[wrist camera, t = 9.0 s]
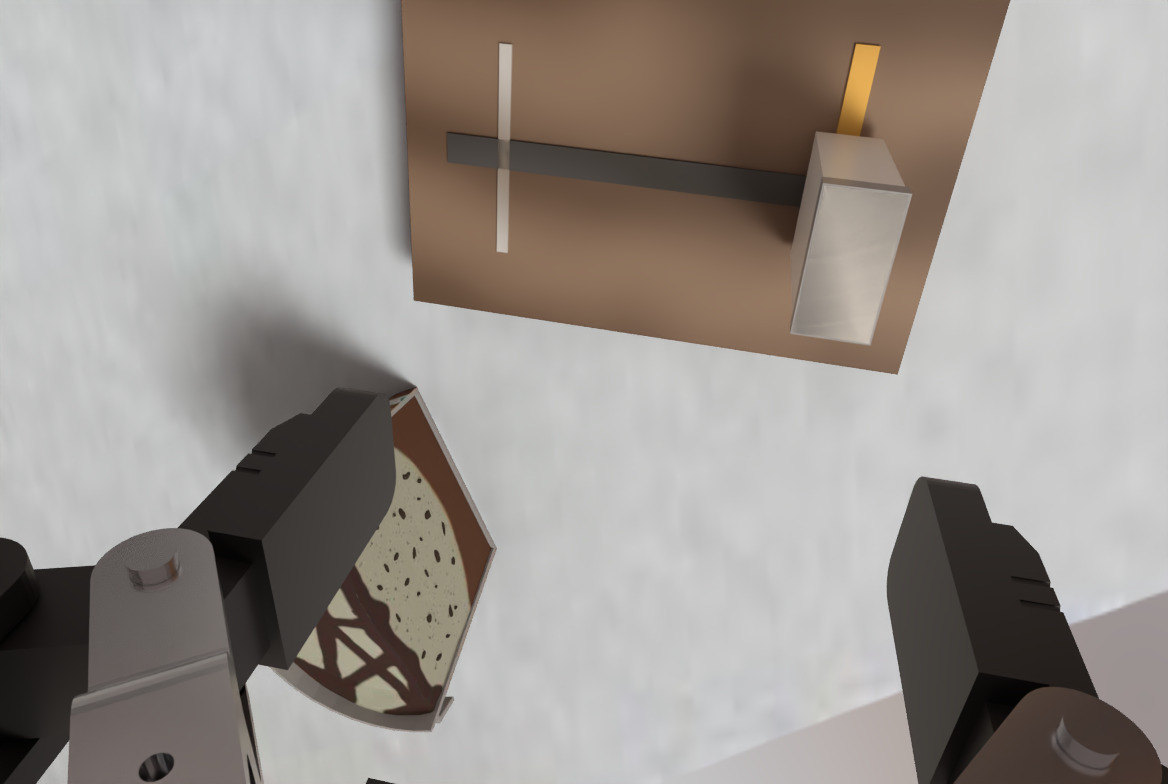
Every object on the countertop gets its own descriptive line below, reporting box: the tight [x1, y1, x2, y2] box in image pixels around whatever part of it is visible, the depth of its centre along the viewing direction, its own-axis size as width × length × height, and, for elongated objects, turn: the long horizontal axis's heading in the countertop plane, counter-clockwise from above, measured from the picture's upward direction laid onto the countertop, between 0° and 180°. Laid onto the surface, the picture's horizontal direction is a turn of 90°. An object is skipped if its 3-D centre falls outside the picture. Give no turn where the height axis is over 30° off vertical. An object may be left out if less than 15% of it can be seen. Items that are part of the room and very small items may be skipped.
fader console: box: [401, 0, 1010, 374], centre depth 28 cm, size 12×18×3 cm, turn 86°
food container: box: [270, 387, 497, 732], centre depth 35 cm, size 12×6×10 cm, turn 20°
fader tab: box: [790, 131, 912, 346], centre depth 23 cm, size 4×2×6 cm, turn 176°
